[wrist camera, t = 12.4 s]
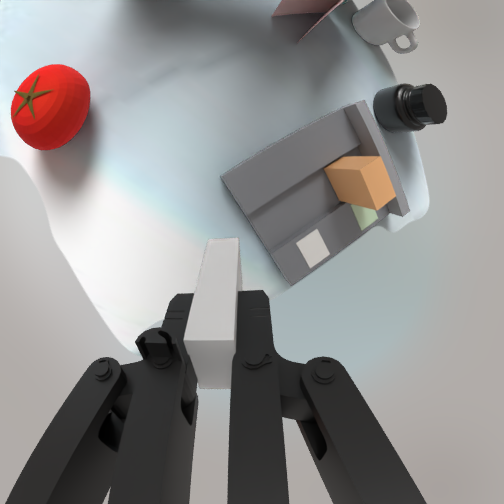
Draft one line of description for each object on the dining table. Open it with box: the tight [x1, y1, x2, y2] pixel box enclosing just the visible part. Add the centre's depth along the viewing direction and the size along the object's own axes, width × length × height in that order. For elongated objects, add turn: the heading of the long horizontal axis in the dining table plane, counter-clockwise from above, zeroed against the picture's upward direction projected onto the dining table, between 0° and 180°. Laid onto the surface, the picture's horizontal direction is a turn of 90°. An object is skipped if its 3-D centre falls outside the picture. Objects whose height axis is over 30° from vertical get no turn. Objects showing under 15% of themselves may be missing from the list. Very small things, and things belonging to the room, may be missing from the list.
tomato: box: [11, 64, 90, 150], centre depth 24 cm, size 12×12×13 cm
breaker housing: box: [220, 100, 410, 286], centre depth 39 cm, size 24×20×6 cm
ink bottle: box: [374, 84, 447, 133], centre depth 35 cm, size 10×9×12 cm
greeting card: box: [271, 0, 344, 41], centre depth 26 cm, size 11×7×15 cm, turn 112°
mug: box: [352, 0, 420, 54], centre depth 31 cm, size 12×8×11 cm
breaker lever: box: [323, 156, 396, 211], centre depth 36 cm, size 4×6×10 cm, turn 32°
